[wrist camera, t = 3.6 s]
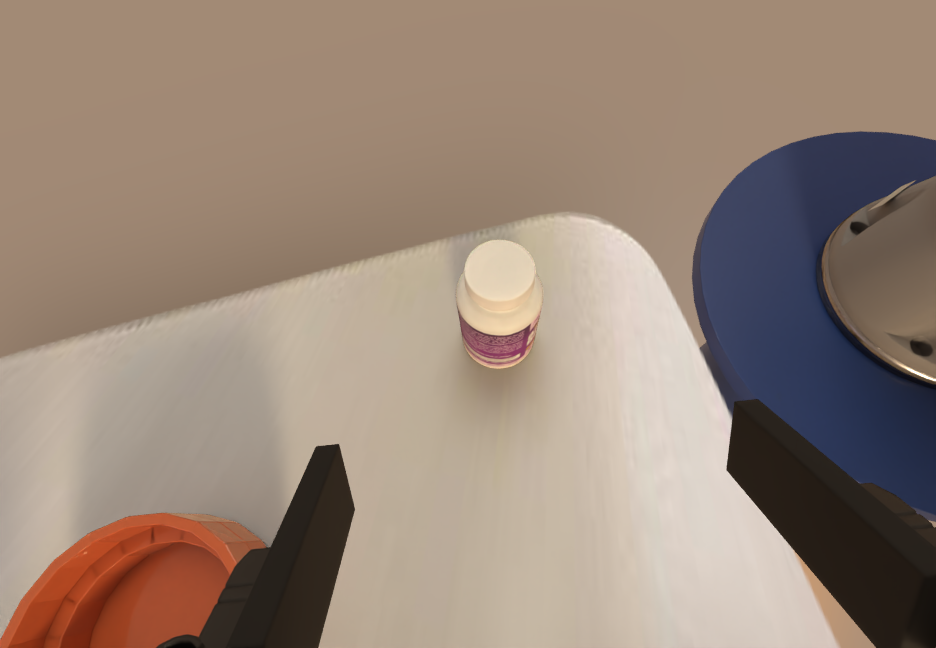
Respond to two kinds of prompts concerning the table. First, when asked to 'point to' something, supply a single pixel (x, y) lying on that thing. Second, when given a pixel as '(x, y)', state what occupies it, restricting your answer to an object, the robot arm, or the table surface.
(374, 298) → the table surface
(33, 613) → the bowl
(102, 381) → the table surface
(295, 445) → the table surface
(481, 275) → the pill bottle
